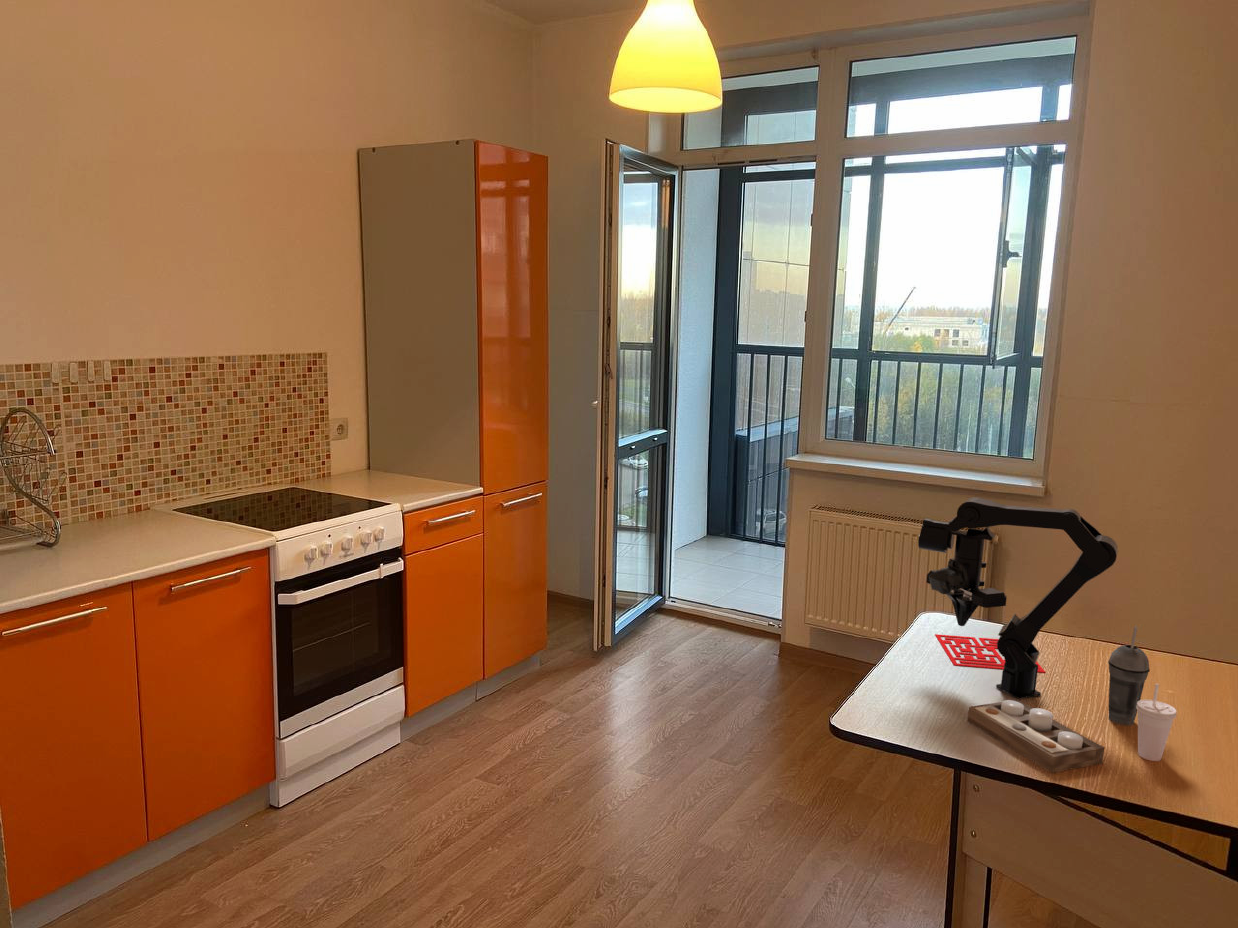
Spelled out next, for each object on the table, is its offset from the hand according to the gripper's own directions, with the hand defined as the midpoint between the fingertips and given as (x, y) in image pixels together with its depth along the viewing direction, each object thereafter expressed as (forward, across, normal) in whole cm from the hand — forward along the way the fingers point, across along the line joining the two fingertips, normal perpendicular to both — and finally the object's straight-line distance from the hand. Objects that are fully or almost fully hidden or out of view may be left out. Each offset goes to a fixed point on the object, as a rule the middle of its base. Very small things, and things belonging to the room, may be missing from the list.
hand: (961, 625), depth 199 cm
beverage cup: (+12, +27, +18) cm, 35 cm away
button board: (+12, +29, -7) cm, 32 cm away
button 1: (+11, +22, -5) cm, 25 cm away
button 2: (+11, +36, -5) cm, 38 cm away
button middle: (+10, +29, -6) cm, 31 cm away
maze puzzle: (+13, -10, +18) cm, 24 cm away
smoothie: (+12, +40, +10) cm, 43 cm away
